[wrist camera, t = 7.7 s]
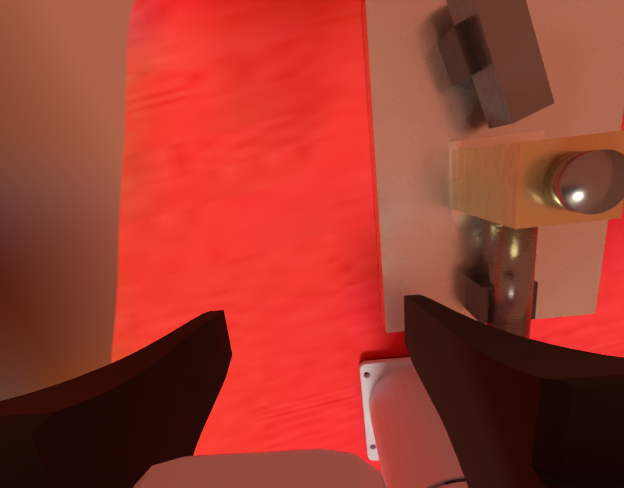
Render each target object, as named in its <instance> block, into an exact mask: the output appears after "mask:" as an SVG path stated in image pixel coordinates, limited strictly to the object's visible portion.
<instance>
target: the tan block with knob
mask: <svg viewBox="0 0 624 488" xmlns="http://www.w3.org/2000/svg"><path fill="white" fill-rule="evenodd" d="M623 202H624V130H620V131H612V132H603V133H595V134H586V135H578V136H570V137H561V138H553V139H544V140H536V141H527V142H519V143H510V144H502V145H494V146H485V147H477V148H468V149H460V150H459V173H458V211H460V212H463V213H466V214H470V215H473V216H476V217H479V218H482V219H485V220H488V221H491V222H494V223H498V224H501V225H504V226H507V227H510V228H513V229H521V228H531V227H540V226H550V225H560V224H569V223H579V222H588V221H598V220H608V219H617V218H621V215H622V209H623Z"/></svg>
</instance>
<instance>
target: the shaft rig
mask: <svg viewBox="0 0 624 488" xmlns="http://www.w3.org/2000/svg"><path fill="white" fill-rule="evenodd" d="M361 15H362V30H363V45H364V61H365V76H366V91H367V106H368V121H369V136H370V151H371V167H372V182H373V197H374V212H375V227H376V242H377V257H378V273H379V288H380V303H381V318H382V324H383V326H384V329H385V331H386V333H391V332H402V331H405V328H404V296H405V295H418V294H420V295H423V296H425V297H428V298H430V299H432V300H434V301H436V302H438V303H440V304H442V305H444V306H446V307H448V308H450V309H452V310H454V311H456V312H459V313H461V314H463V315H465V316H467V317H470V318H472V319H474V320H477V321H479V322H481V323H484V324H487V325H489V326H492V327H494V328H497V329H500V330H503V331H506V332H509V333H512V334H515V335H518V336H522V337H525V338H528V339H529V338H530V325H531V319H541V318H552V317H563V316H574V315H584V314H595V311H596V304H597V297H598V290H599V283H600V276H601V269H602V261H603V254H604V247H605V240H606V233H607V226H608V220H598V221H588V222H579V223H569V224H560V225H550V226H540V227H531V228H521V229H513V228H510V227H507V226H504V225H501V224H498V223H494V222H491V221H488V220H485V219H482V218H479V217H476V216H473V215H470V214H466V213H463V212H460V211H458V173H459V150H460V149H468V148H477V147H485V146H494V145H502V144H510V143H519V142H527V141H536V140H544V139H553V138H561V137H570V136H578V135H586V134H595V133H603V132H612V131H620V130H621V126H622V119H623V111H624V0H364V3H363V7H362V11H361Z"/></svg>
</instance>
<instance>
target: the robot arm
mask: <svg viewBox="0 0 624 488" xmlns="http://www.w3.org/2000/svg"><path fill="white" fill-rule="evenodd" d="M404 328H405V344H406V347H407V350H408V353H409V355H410V357H403V358H391V359H380V360H369V361H363V362H361V363H360V365H359V370H360V381H361V392H362V402H363V413H364V424H365V435H366V446H367V455H368V458H369V459H370V460H379V462H380V467H381V472H382V475H381V472H380V471H378V470H377V469H376V468H374V467H373V466H371V465H370V464H368V463H367V462H365V461H364V460H362V459H361V458H359V457H358V456H356V455H355V454H353V453H349V452H342V451H335V450H329V449H304V450H287V451H269V452H252V453H234V454H217V455H199V456H193V454H194V451H195V448H196V445H197V442H198V440H199V437H200V435H201V432H202V430H203V428H204V425H205V423H206V421H207V419H208V416H209V414H210V412H211V410H212V407H213V405H214V403H215V401H216V398H217V396H218V394H219V392H220V389H221V387H222V385H223V382H224V380H225V378H226V375H227V371H228V368H229V364H230V361H231V357H232V351H231V346H230V341H229V336H228V330H227V325H226V320H225V315H224V310H220V311H209V312H206V313H204V314H202V315H200V316H198V317H196V318H195V319H193V320H191V321H189V322H188V323H186V324H184V325H183V326H181V327H179V328H178V329H176V330H174V331H173V332H171V333H169V334H168V335H166V336H164V337H162V338H161V339H159V340H157V341H155V342H153V343H152V344H150V345H148V346H146V347H145V348H143V349H141V350H139V351H137V352H135V353H133V354H131V355H129V356H127V357H124V358H122V359H120V360H118V361H116V362H114V363H111V364H109V365H107V366H104V367H102V368H99V369H97V370H94V371H92V372H89V373H87V374H84V375H82V376H79V377H77V378H74V379H71V380H68V381H66V382H63V383H60V384H57V385H54V386H51V387H48V388H45V389H41V390H38V391H35V392H32V393H28V394H25V395H22V396H18V397H14V398H11V399H7V400H3V401H0V488H624V358H622V357H615V356H607V355H601V354H596V353H590V352H585V351H580V350H574V349H569V348H565V347H560V346H556V345H552V344H548V343H544V342H540V341H536V340H532V339H528V338H525V337H522V336H518V335H515V334H512V333H509V332H506V331H503V330H500V329H497V328H494V327H492V326H489V325H486V324H484V323H481V322H479V321H477V320H474V319H472V318H470V317H467V316H465V315H463V314H461V313H459V312H456V311H454V310H452V309H450V308H448V307H446V306H444V305H442V304H440V303H438V302H436V301H434V300H432V299H430V298H428V297H425V296H423V295H420V294H418V295H405V296H404ZM365 372H369V373H368V374H364V373H365ZM372 444H374V445H372Z"/></svg>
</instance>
